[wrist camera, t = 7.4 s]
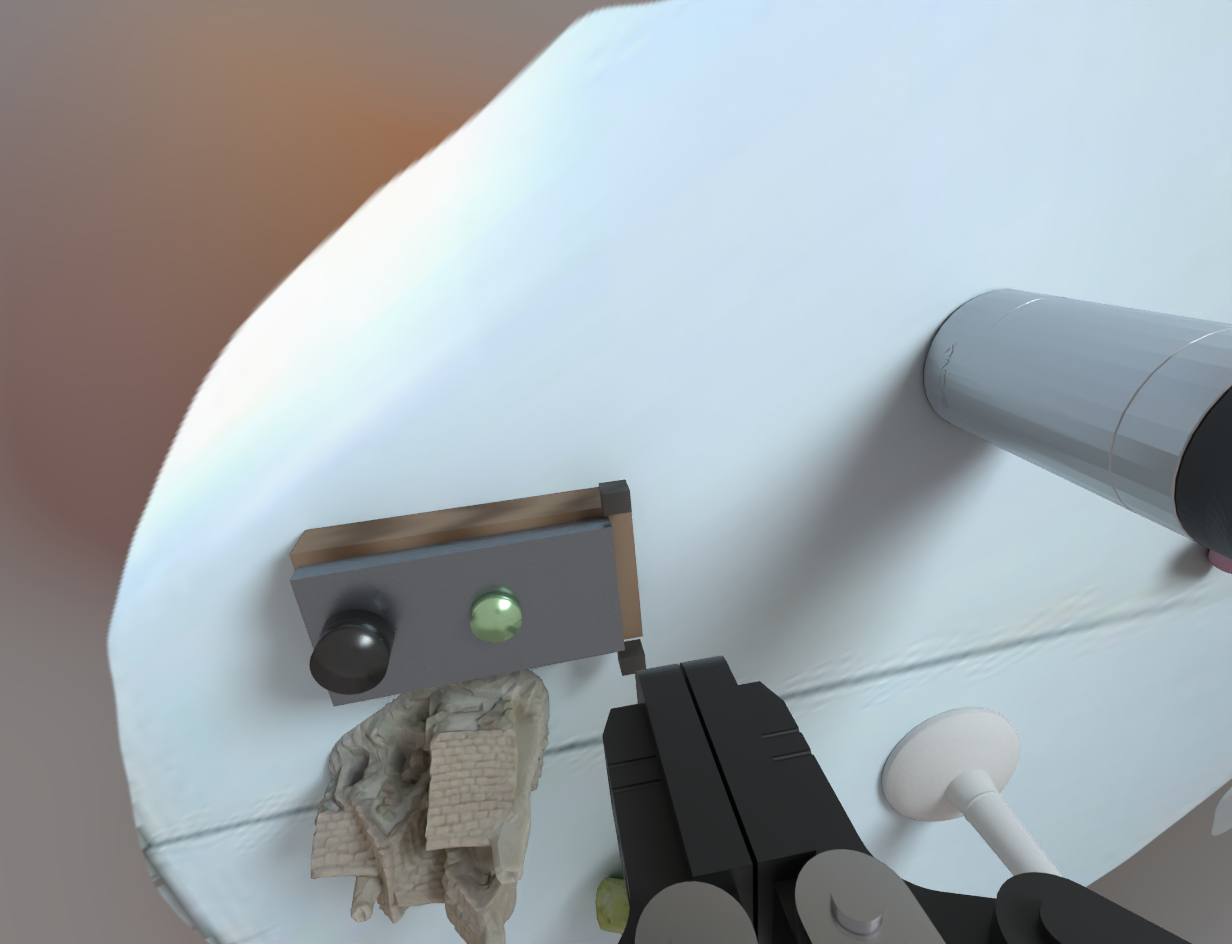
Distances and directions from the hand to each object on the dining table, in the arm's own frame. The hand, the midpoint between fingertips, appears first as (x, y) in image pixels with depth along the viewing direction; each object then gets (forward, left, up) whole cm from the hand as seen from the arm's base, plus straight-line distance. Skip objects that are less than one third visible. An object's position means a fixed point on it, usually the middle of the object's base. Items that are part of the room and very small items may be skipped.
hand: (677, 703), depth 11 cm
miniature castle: (+12, +28, -29) cm, 43 cm away
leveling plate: (+7, +14, -26) cm, 30 cm away
